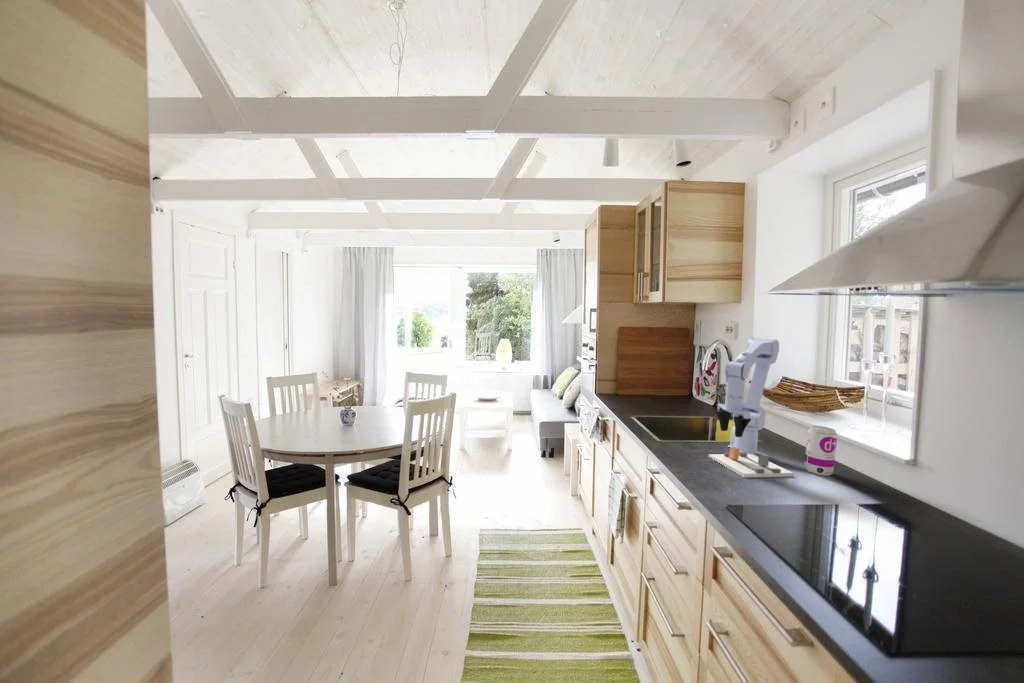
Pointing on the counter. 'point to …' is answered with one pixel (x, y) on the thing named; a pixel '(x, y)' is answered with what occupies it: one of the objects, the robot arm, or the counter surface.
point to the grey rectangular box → (763, 459)
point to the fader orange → (734, 453)
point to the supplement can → (820, 450)
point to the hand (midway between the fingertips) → (731, 433)
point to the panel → (750, 466)
